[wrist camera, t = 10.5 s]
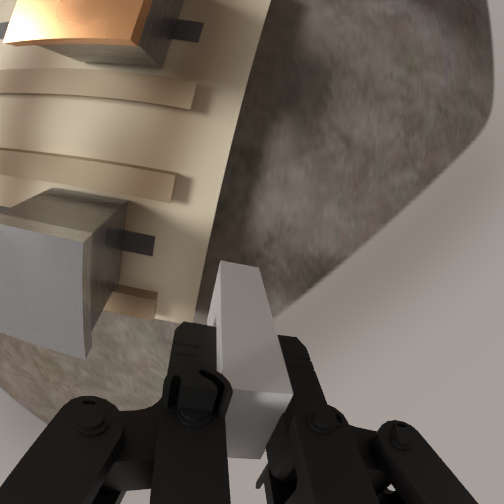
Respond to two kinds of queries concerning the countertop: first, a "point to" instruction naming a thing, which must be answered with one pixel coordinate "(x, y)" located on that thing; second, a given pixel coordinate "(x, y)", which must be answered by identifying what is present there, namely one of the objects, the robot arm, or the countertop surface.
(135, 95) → the beige flat board
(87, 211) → the fader
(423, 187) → the countertop surface
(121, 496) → the robot arm
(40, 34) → the block
